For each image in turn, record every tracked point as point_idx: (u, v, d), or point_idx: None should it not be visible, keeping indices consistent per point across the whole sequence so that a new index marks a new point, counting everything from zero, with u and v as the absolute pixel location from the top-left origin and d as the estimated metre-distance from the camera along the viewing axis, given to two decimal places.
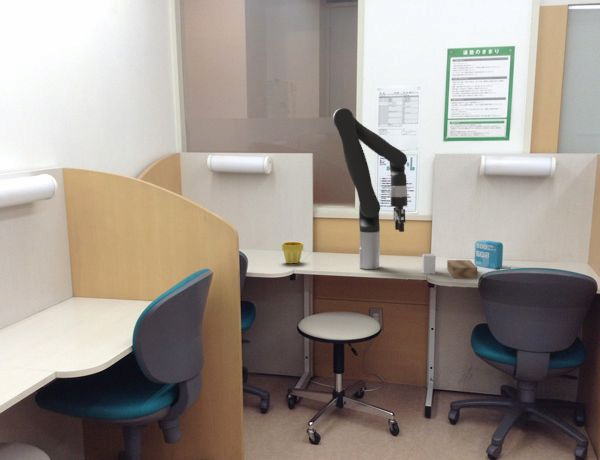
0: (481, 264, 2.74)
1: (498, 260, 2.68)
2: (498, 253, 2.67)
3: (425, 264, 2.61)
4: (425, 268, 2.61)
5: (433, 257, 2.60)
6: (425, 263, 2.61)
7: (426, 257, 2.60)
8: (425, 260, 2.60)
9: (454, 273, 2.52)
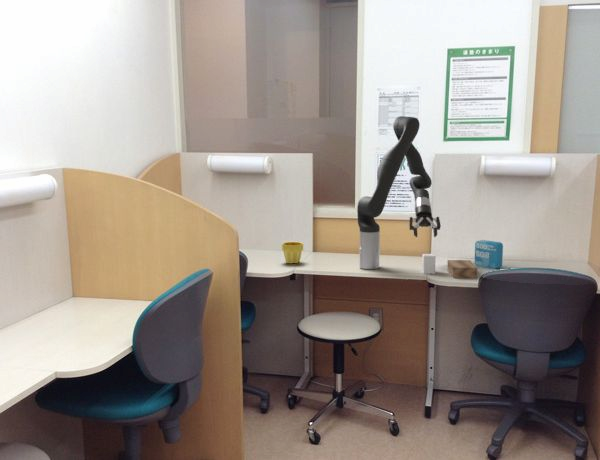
0: (481, 264, 2.74)
1: (498, 260, 2.68)
2: (498, 253, 2.67)
3: (425, 264, 2.61)
4: (425, 268, 2.61)
5: (433, 257, 2.60)
6: (425, 263, 2.61)
7: (426, 257, 2.60)
8: (425, 260, 2.60)
9: (454, 273, 2.52)
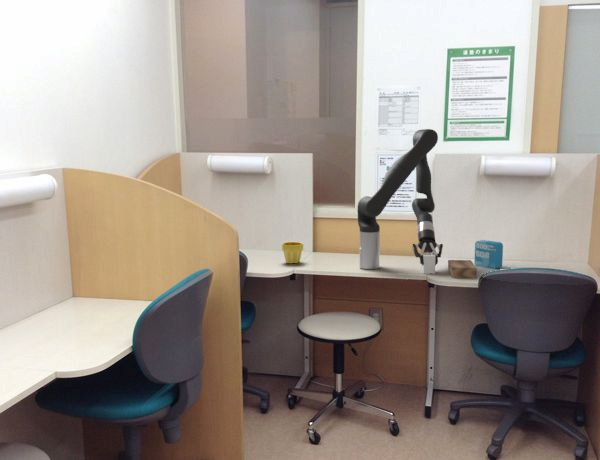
0: (481, 264, 2.74)
1: (498, 260, 2.68)
2: (498, 253, 2.67)
3: (425, 264, 2.61)
4: (425, 268, 2.61)
5: (433, 257, 2.60)
6: (425, 263, 2.61)
7: (426, 257, 2.60)
8: (425, 260, 2.60)
9: (453, 273, 2.52)
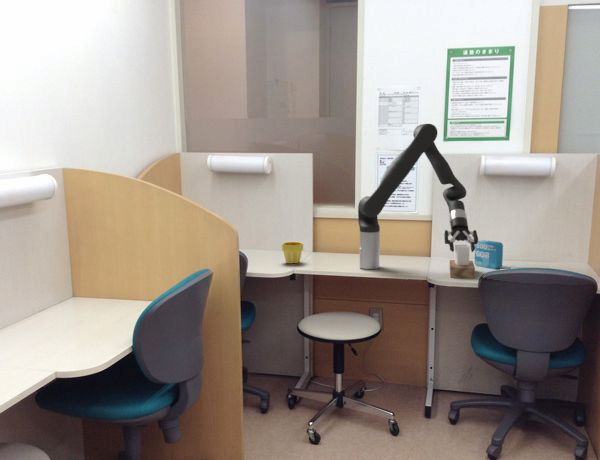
0: (481, 264, 2.74)
1: (498, 260, 2.68)
2: (498, 253, 2.67)
3: (459, 255, 2.56)
4: (459, 259, 2.56)
5: (467, 248, 2.55)
6: (459, 254, 2.56)
7: (460, 248, 2.56)
8: (459, 251, 2.56)
9: (451, 273, 2.53)
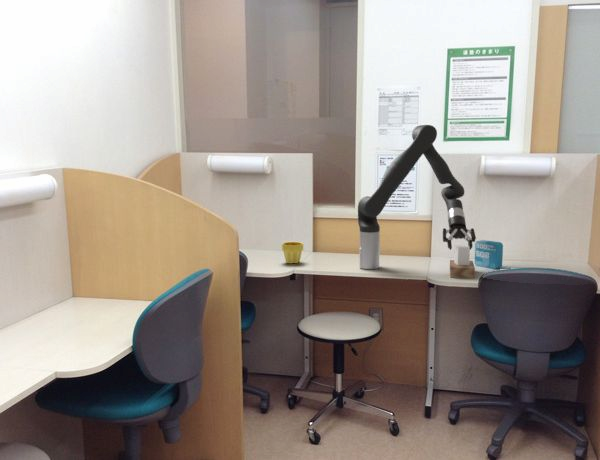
0: (481, 264, 2.74)
1: (498, 260, 2.68)
2: (498, 253, 2.67)
3: (459, 255, 2.56)
4: (459, 259, 2.56)
5: (467, 248, 2.55)
6: (459, 254, 2.56)
7: (460, 248, 2.55)
8: (459, 251, 2.56)
9: (451, 273, 2.53)
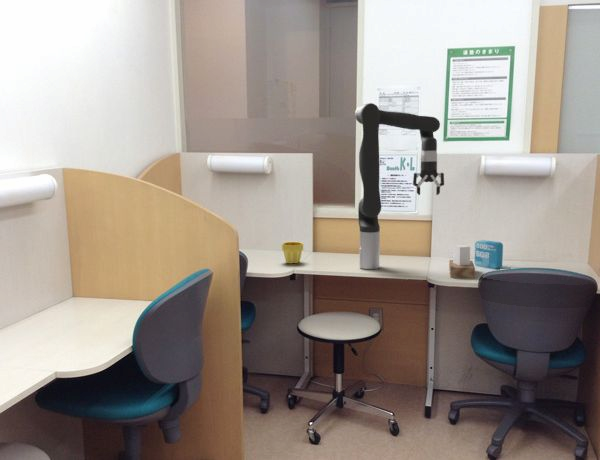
0: (481, 264, 2.74)
1: (498, 260, 2.68)
2: (498, 253, 2.67)
3: (461, 255, 2.56)
4: (461, 259, 2.56)
5: (468, 248, 2.56)
6: (461, 254, 2.56)
7: (462, 248, 2.55)
8: (461, 251, 2.55)
9: (451, 273, 2.53)
